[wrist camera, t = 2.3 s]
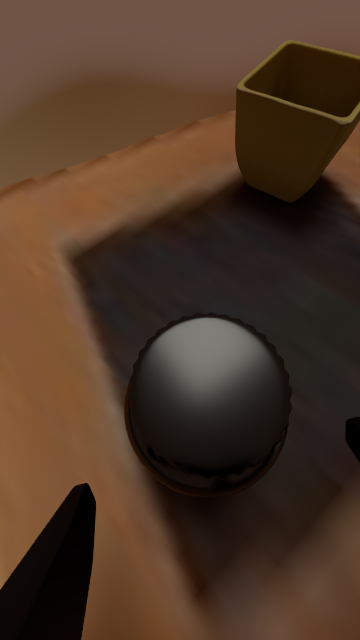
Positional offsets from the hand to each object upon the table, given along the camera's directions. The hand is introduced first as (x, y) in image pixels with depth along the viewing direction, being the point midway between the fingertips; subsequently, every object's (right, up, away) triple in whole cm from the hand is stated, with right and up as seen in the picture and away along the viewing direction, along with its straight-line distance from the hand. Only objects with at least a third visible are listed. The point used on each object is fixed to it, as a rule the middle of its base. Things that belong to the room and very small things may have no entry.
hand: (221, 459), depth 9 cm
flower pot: (+9, +19, +19) cm, 29 cm away
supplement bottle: (0, -2, +10) cm, 10 cm away
